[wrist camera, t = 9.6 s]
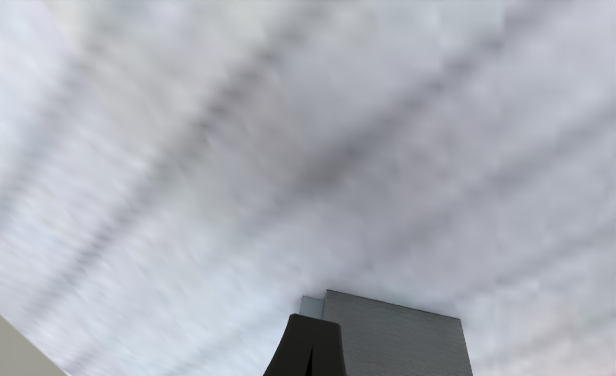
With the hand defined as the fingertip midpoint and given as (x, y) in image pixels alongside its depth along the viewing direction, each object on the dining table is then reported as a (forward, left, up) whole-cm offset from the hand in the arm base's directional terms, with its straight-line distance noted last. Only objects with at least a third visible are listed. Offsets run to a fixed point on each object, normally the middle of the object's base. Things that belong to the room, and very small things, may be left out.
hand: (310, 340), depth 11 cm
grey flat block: (-5, +9, -9) cm, 14 cm away
